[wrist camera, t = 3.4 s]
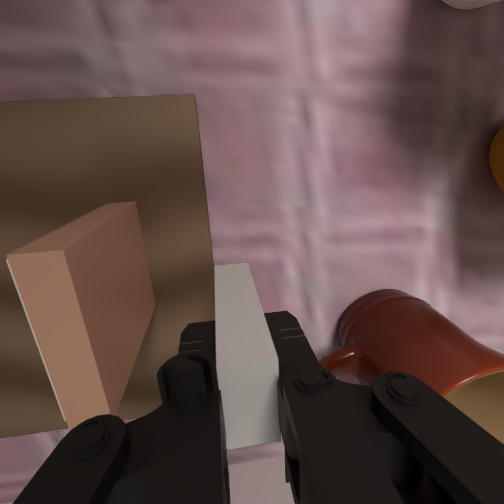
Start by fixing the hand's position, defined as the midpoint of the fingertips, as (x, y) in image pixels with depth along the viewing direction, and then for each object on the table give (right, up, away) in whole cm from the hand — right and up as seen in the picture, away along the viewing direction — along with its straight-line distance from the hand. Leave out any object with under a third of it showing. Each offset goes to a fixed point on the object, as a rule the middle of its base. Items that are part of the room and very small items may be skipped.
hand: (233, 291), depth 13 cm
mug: (+9, -4, +11) cm, 15 cm away
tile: (-7, +1, +5) cm, 8 cm away
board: (-11, 0, +6) cm, 12 cm away
